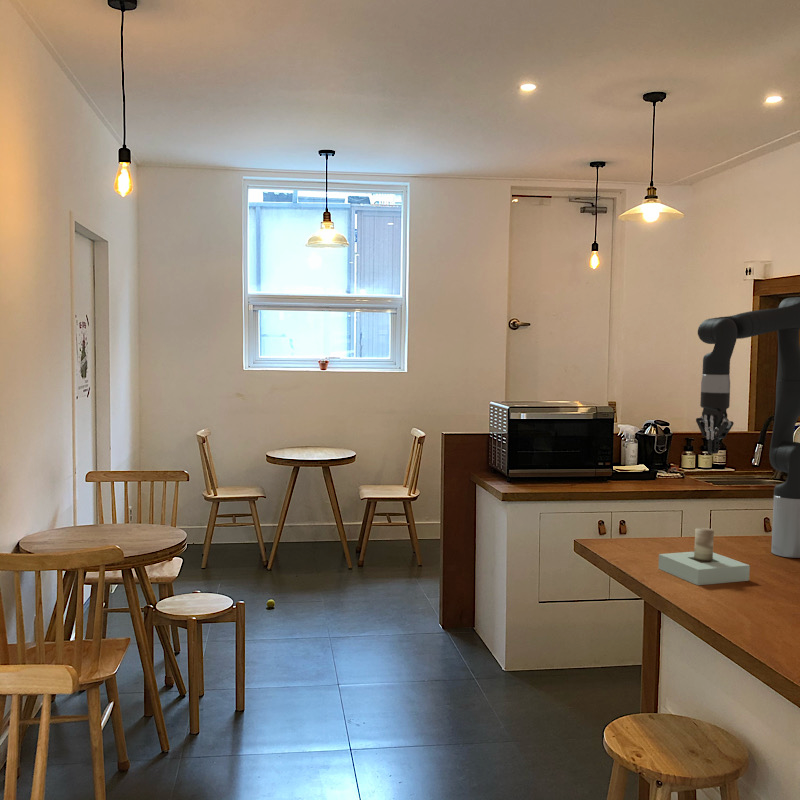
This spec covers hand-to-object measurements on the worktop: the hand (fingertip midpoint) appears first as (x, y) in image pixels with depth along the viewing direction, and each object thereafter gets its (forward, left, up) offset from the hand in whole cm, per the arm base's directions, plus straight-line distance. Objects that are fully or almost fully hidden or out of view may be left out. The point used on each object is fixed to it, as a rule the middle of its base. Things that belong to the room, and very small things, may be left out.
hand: (713, 453), depth 225 cm
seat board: (+10, +10, -31) cm, 34 cm away
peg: (+10, +10, -31) cm, 34 cm away
